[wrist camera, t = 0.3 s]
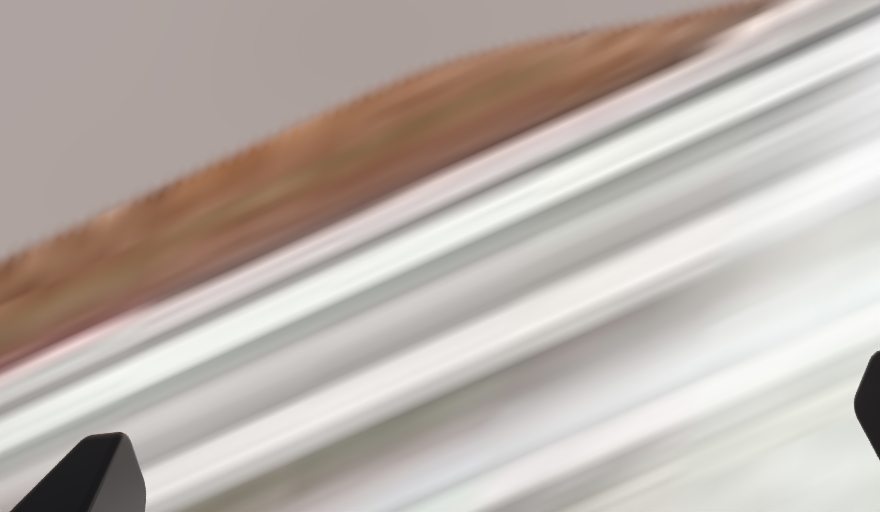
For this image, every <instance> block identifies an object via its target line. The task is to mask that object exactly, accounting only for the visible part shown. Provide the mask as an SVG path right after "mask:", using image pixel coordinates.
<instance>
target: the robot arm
mask: <svg viewBox="0 0 880 512" xmlns="http://www.w3.org/2000/svg"><path fill="white" fill-rule="evenodd" d="M854 410H855V413H856V416H857V419H858V421H859V423H860V424H861V426H862V428H863V430H864V432H865V434H866V436H867V437H868V439H869V441H870V443H871V445H872V447H873V449H874V450H875V452H876V454H877V456H878V458H879V460H880V351H877V352H876V353H875V354H873V355H872V357H871V358H870V360H869V363H868V365H867V368H866V370H865V373H864V375H863V377H862V380H861V382H860V385H859V387H858V390H857V392H856V395H855V398H854ZM145 504H146V488H145V482H144V478H143V476H142V473H141V470H140V467H139V464H138V461H137V458H136V455H135V452H134V449H133V446H132V443H131V441H130V439H129V437H128V436H127V435H126V434H125V433H122V432H114V433H105V434H96V435H90V436H87V437H85V438H84V439H82V440H81V441H80V442H79V443H78V444H77V445H76V446H75V447H74V448H73V449H72V450H71V451H70V452H69V453H68V454H67V455H66V456H65V457H64V458H63V459H62V460H61V461H60V462H59V463H58V464H57V465H56V466H55V467H54V468H53V469H52V470H51V471H50V472H49V473H48V474H47V475H46V476H45V477H44V478H43V479H42V480H41V481H40V482H39V483H38V484H37V485H36V486H35V487H34V488H33V489H32V490H31V491H30V492H29V493H28V494H27V495H26V496H25V497H24V498H23V499H22V500H21V501H20V502H19V503H18V504H17V505H16V506H15V507H14V508H13V509H12V510H11V511H10V512H145Z"/></svg>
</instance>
